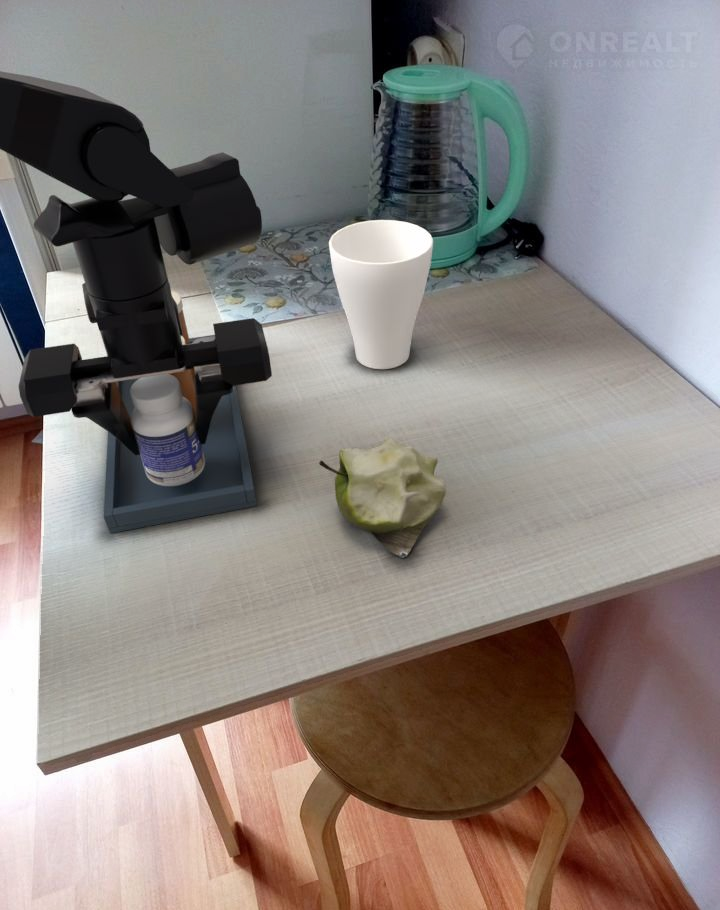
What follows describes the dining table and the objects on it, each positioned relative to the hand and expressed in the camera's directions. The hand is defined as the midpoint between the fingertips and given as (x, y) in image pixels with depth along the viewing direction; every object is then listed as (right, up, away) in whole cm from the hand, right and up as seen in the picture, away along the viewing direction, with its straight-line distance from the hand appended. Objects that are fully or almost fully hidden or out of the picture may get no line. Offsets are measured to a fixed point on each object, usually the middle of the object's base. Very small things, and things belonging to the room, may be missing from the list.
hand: (171, 446), depth 62 cm
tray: (-2, +2, +9) cm, 10 cm away
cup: (+19, +10, +18) cm, 28 cm away
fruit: (+19, -6, -1) cm, 20 cm away
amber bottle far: (-4, +8, +15) cm, 18 cm away
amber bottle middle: (-2, +3, +9) cm, 9 cm away
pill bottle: (0, -2, +2) cm, 3 cm away
